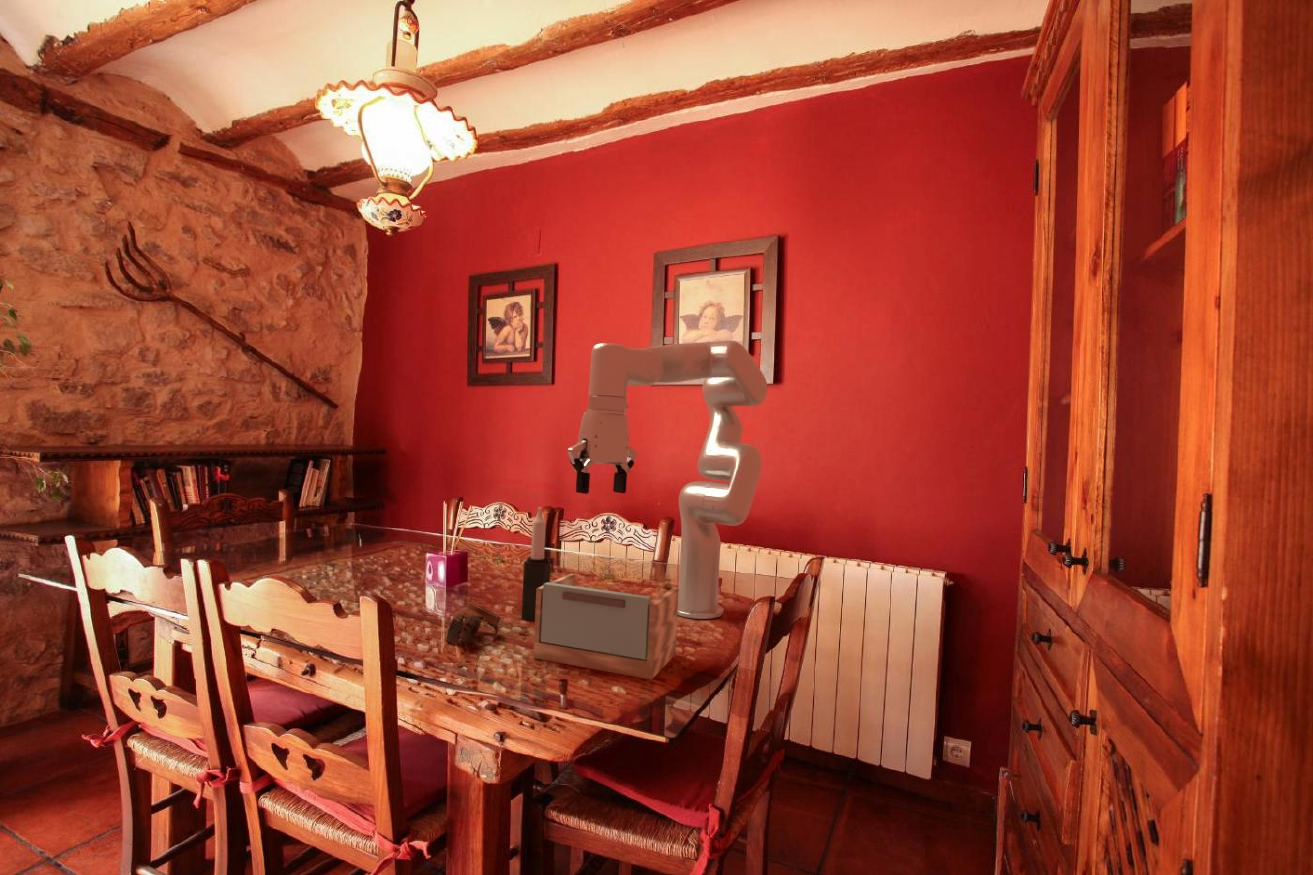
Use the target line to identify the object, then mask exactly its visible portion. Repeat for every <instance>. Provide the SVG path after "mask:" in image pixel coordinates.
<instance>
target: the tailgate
mask: <svg viewBox="0 0 1313 875" xmlns="http://www.w3.org/2000/svg"><path fill="white" fill-rule="evenodd" d="M651 603H652V597H651V596H650V595H641V594H637V593H636V594H635V593H634V594H633V593H628V592H621V591H619V592H618V591H612V590H606V589H601V588H600V589H599V588H591V587H586V586H585V587H583V586H578V585H574V586H571V585H564V584H556V583H549V582H547V583H545V584H543V604H542V626H541V642H546V643H552V644H558V645H564V646H569V647H575V648H581V649H587V650H593V651H598V652H604V653H610V654H616V655H621V656H627V657H633V658H639V659H646V658H647V656H648V635H649V615H650V604H651Z"/></svg>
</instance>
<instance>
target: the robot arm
mask: <svg viewBox="0 0 1313 875" xmlns="http://www.w3.org/2000/svg"><path fill="white" fill-rule="evenodd" d="M590 357H591V358H590V369H589V384H588V386H589V387H588V402H587V411H584V413H583V415H582V419H581V422H580V427H579V432H578V439H577V443H576V444H574V445H572V446H570V447H569V448H567V450H566V451H567V454H568V457H569V459H570V460H569V462H570V464H571V466H573V470H574V472H576V479H575V481H576V482H575V491H576V493H578V494H584V495H587V494H589V492H590V481H591V474H590V472H588V471H589V470H590V469H591V467H592V466H593V464H605V465H610V464H612V465H613V467H614V468H615V470H616V471H615V472H614V474H613V490H612V491H613V492H614V493H617V494H618V493H619V494H626V493H627V481H628V480H627V479H628V474H630V472H631V469H632V467H633V466H634V465H635V461H636V459H637V456H638V452H637V451H636V450H635V449H633V448H632V447H631V446H630V445H629V444H630V442H629V440H630V436H629V435H630V434H629V421H628V420H629V419H628V415H627V414H626V411H627V410H628V409H629V404H628V403H627V397H628V386H629V387H631V386H632V387H640V386H641V387H643V386H645V387H646V386H650V385H653V384H655V383H663V384H665V383H666V384H668V383H680V382H681V383H682V382H687V381H693V380H702V379H704V380H703V382H702V396H703V398H704V402H705V404H706V407H707V410H708V414H709V426H708V430H707V433H706V435H705V439H704V442H703V445H702V448H701V451H700V454H699V457H698V460H697V471H698V473H699V475H700V476H702V477H703V478H705V479H708V480H713V482H711V481H704V480H703V481H700V480H698V481H692V482H689V483H686V484H685V485H684V486H683V487H682V488H681V489H680V493H679V495H678V509H679V514H680V525H681V530H680V531H681V532H680V533H681V537H680V538H681V539H680V557H679V558H680V559H679V579H678V588H679V592H678V612H677V616H680V617H683V618H689V619H695V620H710V619H716V618H719V617H721V615H724V610H725V609H724V607H722V606H721V604H718V602H719V600H718V599H719V581H720V580H719V578H720V558H721V537H720V534H719V531H718V528H717V525H716V524H719V525H725V526H732V527H735V526H739V525H741V524H743V523H744V522H745V521H746V519H747V518H748V515H749V514H750V511H751V507H752V505H753V501H754V498H755V494H756V491H757V487H758V484H759V481H760V478H761V472H762V464H763V463H762V456H761V453H760V451H759V449H758V448H757V447H756V446H755V445H752V444H748V443H741V439H742V435H743V423H742V421H741V418H740V417H739V414H737V412H736V410H735V407H757V406H760V405H761V404H762V403H763V402H764V401H765V400H766V398H767V397H768V382H767V380H766V377H765V375H764V374H763V372H762V370H761V369H760V367H759V365H758V364H757V363H756V361H755V359H754V358H753V357H752V355H751V354H750V353H749V351H748V350H747V348H746V347H745V346H743V344H741V343H740V342H737V341H735V340H723V341H722V340H721V341H720V340H719V341H705V342H704V341H703V342H690V343H689V342H688V343H673V344H665V345H660V346H659V345H657V346H654V347H653V346H652V347H645V348H634V347H633V348H632V347H627V346H625V345H624V344H620V343H611V342H608V343H607V342H606V343H605V342H602V343H597V344H594V346H593V348H591V355H590ZM714 481H719V482H722V481H723V482H727V483H729V484H727V483H719V482H714Z"/></svg>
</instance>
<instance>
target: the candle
mask: <svg viewBox="0 0 1313 875" xmlns="http://www.w3.org/2000/svg"><path fill="white" fill-rule="evenodd" d="M542 510H543V508H542V507H541V506H539V507H538V508H537V512H536V516H535V518H534V519H533V521H532V527H531V528H532V529H531V530H532V532H531V549H530V550H531V552H530V556H528V557H527V559H526V560H525V561H524V562H523V575H522V578H523V579H522V596H521V600H522V601H521V615H520V616H521V620H523V621H530V622H531V621H532V622H535V610H536V589H537V588H539V587H541V586H543V584H545V583H547V582H549V583H550V582H551V565H552V564H551V560H550V559H548V557H546V556H545V547H546V546H545V545H546V529H547V528H546V527H547V525H546V524H547V523H546V520H545V519H544V516H543V512H542Z"/></svg>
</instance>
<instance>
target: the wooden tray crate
mask: <svg viewBox="0 0 1313 875" xmlns="http://www.w3.org/2000/svg"><path fill="white" fill-rule="evenodd" d="M575 578H576V574H575V573H569V574H566V575H564V576H562V577H559V578H557V579H555V580H553V581H550V583H556V584H564V585H571V586H575ZM678 595H679V587H675V586H673V587H672V588H670V589H669V590H668V591H666V592H665V593H663V595H661V596H660V597H658V598H657V599H655V600H654V601H653V602H651V604H650V615H649V635H648V656H647V658H646V659H639V658H633V657H627V656H621V655H616V654H610V653H604V652H598V651H593V650H587V649H581V648H575V647H569V646H564V645H558V644H552V643H546V642H541V626H542V604H543V586H541V587H539V588H537V589H536V610H535V621H534V634H533V636H534V638H533V652H532V654H533V656H532V657H533V659H536V660H542V661H547V662H548V661H549V662H551V663H552V662H554V663H559V664H563V665H564V664H565V665H568V666H575V667H580V668H584V669H585V668H586V669H590V670H597V671H603V672H608V673H613V674H619V675H624V676H630V677H636V678H640V679H645V680H646V679H647V680H653V679H654V678H655V677H656V676H657V675H658V674H659V673H660V671H661V670H663V668H665V666H666V665H667V664H668V663H669V662H670V661H671V659H672V658H673V657H674V656H675V655H676V650H677V649H676V648H677V628H678V615H677V612H678Z"/></svg>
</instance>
